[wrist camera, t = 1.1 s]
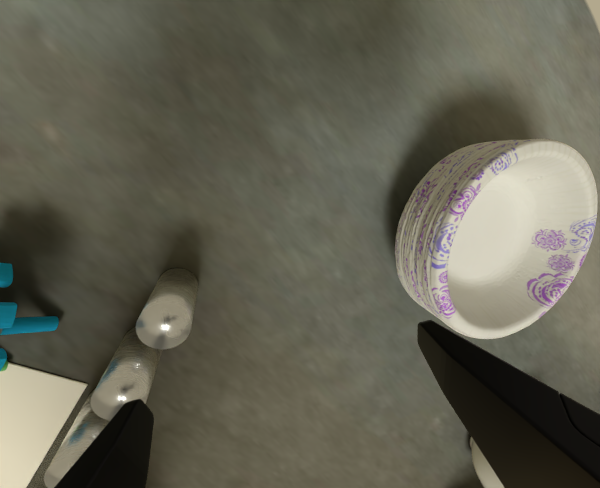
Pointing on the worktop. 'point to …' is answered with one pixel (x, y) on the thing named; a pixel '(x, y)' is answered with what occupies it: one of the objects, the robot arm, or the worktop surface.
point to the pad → (31, 419)
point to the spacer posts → (131, 365)
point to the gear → (4, 320)
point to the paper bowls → (497, 234)
